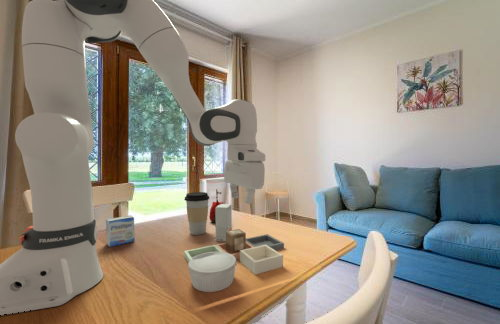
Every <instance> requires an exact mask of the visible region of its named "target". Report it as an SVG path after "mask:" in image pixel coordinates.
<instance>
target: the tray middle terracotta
mask: <svg viewBox="0 0 500 324" xmlns="http://www.w3.org/2000/svg"><path fill="white" fill-rule="evenodd" d="M215 245H216V246H217V247H218V248H219V249H221V250H222V251H223V252H225V253H228V252H227V251H226V242H222V243H216V244H215ZM253 247H254V246H252V245H251V244H249V243H248V242H246V249H249V248H253ZM231 255H233V256H234V257H235V258H236V261H237V260H240V252H238V253H234V254H231Z"/></svg>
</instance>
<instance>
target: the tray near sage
mask: <svg viewBox="0 0 500 324" xmlns="http://www.w3.org/2000/svg"><path fill="white" fill-rule="evenodd" d="M208 252H223V251H222V250H221V249H219V248H218V247H217V246H216V244H212V245H206V246H202V247H198V248H197V247H196V248H194V249H193V248H192V249H187V250H184V251H183V256H184V259H185V260H186V262H187V263H189V261H190V260H191V259H192V258H193V257H195V256H197V255H199V254H203V253H208Z"/></svg>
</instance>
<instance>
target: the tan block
mask: <svg viewBox="0 0 500 324" xmlns="http://www.w3.org/2000/svg"><path fill="white" fill-rule="evenodd" d="M246 236H247V235H246V232H245V231H243V230H242V229H239V228H238V229H237V228H236V229H232V230H230V231H226V241H225V243H226V251H227V252H228V253H229V254H234V253H238V252H240V250H244V249H246Z"/></svg>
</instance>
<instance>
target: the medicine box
mask: <svg viewBox="0 0 500 324" xmlns="http://www.w3.org/2000/svg"><path fill="white" fill-rule="evenodd" d="M105 230H106V231H105V233H106V245H107V246H108V247H109V248H113V247H112V246H114V247H117V246H116V245H118V246H121V244H122V245H125V243H126V244H129V242H130V243H133V242H135V217H133V215H125V216H119V217H112V218H106V219H105Z"/></svg>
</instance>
